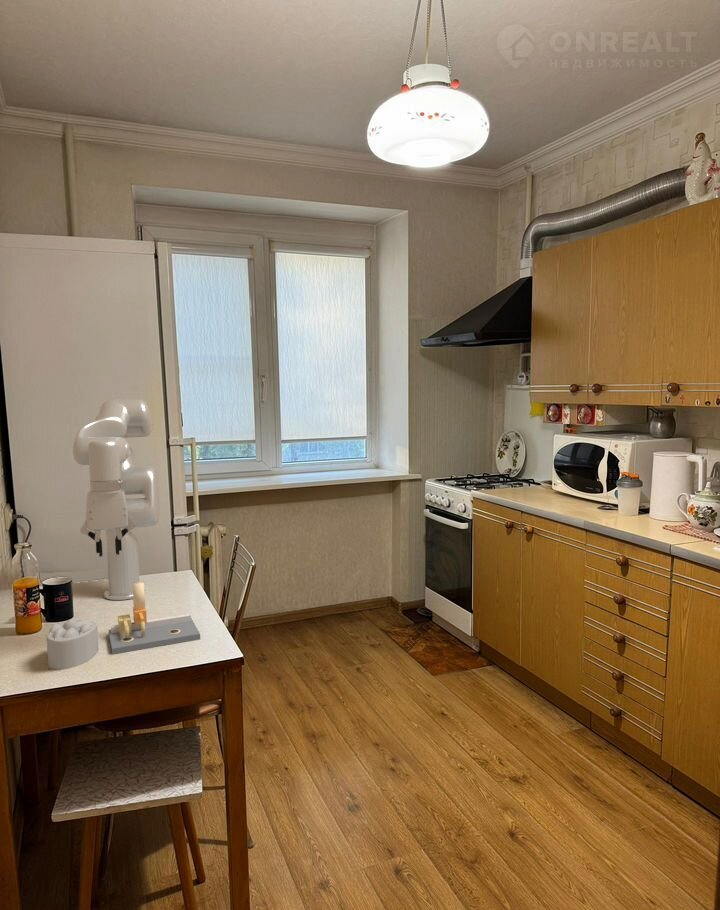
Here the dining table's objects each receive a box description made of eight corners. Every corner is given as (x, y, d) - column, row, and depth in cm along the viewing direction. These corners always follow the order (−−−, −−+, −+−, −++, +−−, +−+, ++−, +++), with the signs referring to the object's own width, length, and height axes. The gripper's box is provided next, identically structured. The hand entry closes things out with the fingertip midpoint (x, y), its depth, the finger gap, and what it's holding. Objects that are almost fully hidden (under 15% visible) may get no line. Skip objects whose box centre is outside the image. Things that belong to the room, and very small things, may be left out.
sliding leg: (133, 624, 174) (131, 582, 173) (145, 622, 175) (143, 580, 174) (137, 636, 165) (135, 592, 164) (149, 634, 167) (147, 590, 165)
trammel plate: (108, 635, 172) (107, 617, 171) (190, 621, 181) (190, 604, 180) (112, 654, 159) (111, 634, 159) (200, 639, 168) (199, 620, 168)
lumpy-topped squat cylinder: (103, 647, 163) (101, 615, 163) (80, 669, 151) (78, 635, 150) (64, 647, 164) (62, 615, 163) (37, 669, 151) (35, 635, 150)
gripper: (137, 482, 173) (140, 547, 174) (71, 486, 166) (74, 554, 167) (140, 486, 166) (143, 554, 168) (71, 490, 159) (75, 561, 161)
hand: (109, 553), depth 168 cm, fingers open, 3 cm apart
